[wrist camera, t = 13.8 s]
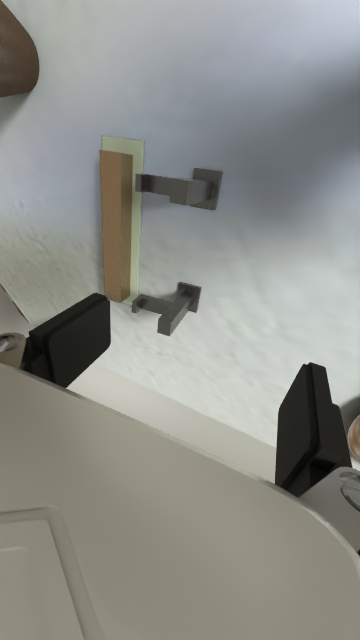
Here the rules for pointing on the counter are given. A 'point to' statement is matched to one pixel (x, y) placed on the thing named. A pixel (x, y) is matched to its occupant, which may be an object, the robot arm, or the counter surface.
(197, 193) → the bracket
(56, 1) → the counter surface
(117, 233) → the rail
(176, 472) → the robot arm
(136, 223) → the board
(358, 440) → the plant saucer
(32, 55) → the plant pot
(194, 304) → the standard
